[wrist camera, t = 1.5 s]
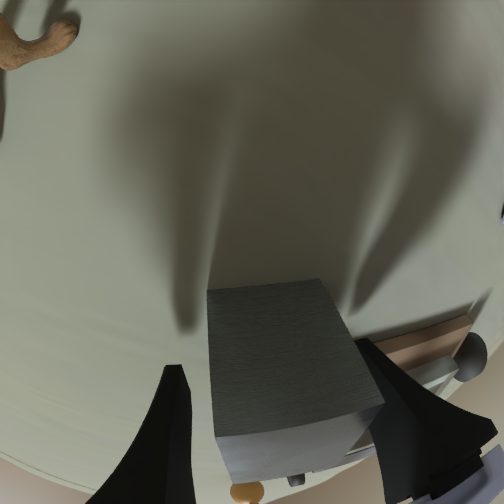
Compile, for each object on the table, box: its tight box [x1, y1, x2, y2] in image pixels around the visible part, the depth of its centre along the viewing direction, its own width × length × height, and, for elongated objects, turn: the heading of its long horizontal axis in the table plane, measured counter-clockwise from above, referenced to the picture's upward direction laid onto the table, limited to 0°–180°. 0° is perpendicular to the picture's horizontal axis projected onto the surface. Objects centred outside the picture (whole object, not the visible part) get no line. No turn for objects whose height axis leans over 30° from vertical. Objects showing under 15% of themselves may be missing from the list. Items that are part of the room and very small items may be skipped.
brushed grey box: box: [207, 279, 385, 484], centre depth 10 cm, size 4×6×6 cm
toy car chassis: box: [287, 314, 487, 487], centre depth 18 cm, size 13×20×4 cm
